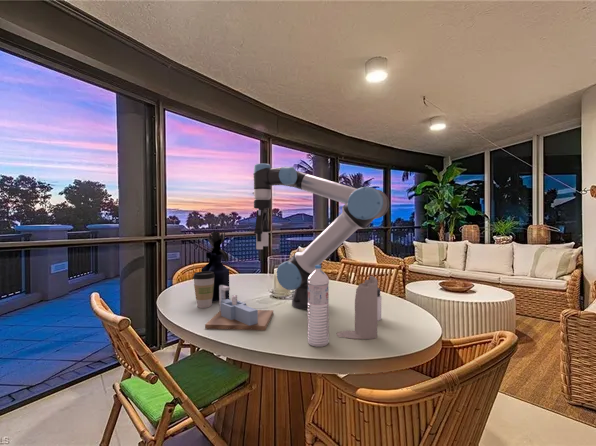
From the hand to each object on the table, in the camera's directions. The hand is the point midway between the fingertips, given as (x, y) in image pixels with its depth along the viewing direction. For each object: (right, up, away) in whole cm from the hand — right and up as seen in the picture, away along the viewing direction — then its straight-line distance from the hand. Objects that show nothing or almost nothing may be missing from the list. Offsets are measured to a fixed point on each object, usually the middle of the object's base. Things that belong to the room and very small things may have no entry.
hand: (262, 247), depth 142 cm
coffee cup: (-27, -27, +4) cm, 38 cm away
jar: (+44, -27, -15) cm, 54 cm away
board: (-6, -27, -17) cm, 33 cm away
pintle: (-9, -27, -16) cm, 33 cm away
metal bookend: (+36, -28, -32) cm, 55 cm away
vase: (-25, -27, +17) cm, 40 cm away
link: (-8, -26, -18) cm, 32 cm away
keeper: (-14, -27, -10) cm, 32 cm away
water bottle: (+22, -28, -39) cm, 53 cm away
